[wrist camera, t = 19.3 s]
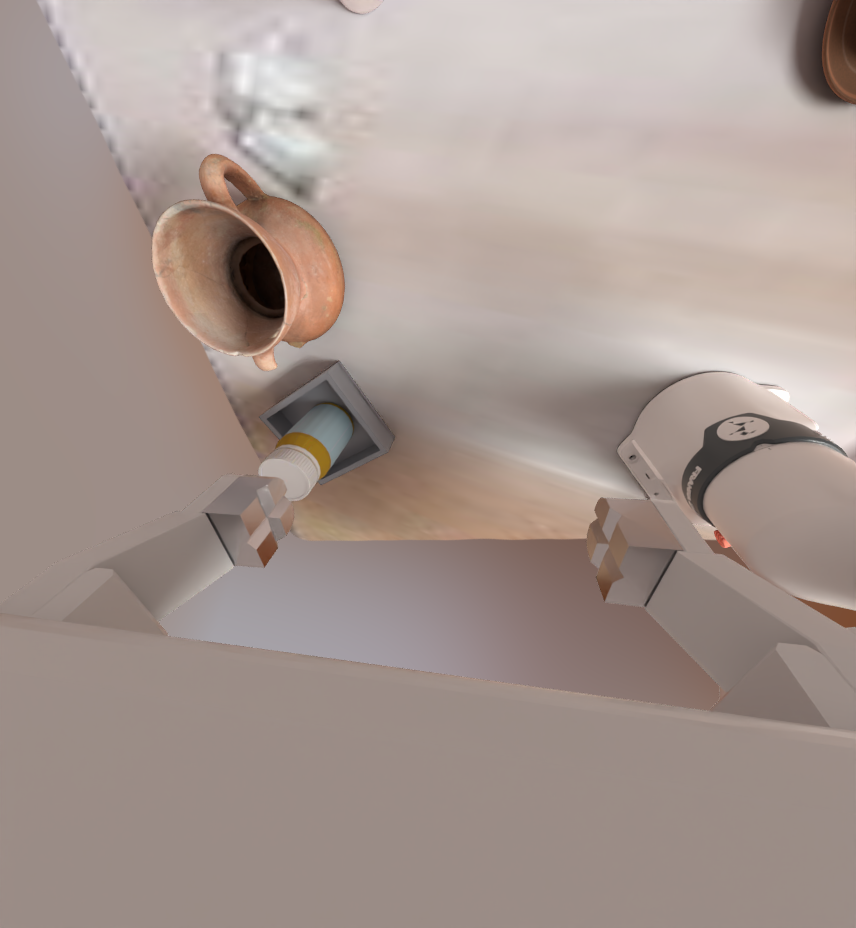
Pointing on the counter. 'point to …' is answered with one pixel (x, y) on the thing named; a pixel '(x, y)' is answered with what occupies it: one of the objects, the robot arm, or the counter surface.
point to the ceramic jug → (246, 267)
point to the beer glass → (361, 5)
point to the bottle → (309, 449)
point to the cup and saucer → (841, 49)
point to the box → (344, 392)
